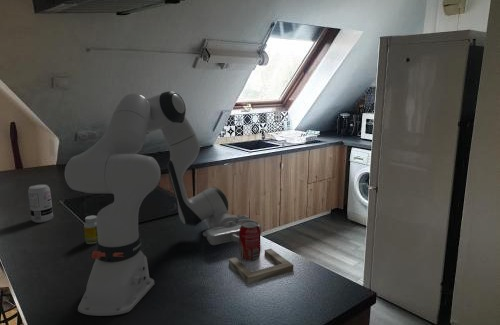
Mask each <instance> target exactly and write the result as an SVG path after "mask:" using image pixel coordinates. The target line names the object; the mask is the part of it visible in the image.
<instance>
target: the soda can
mask: <svg viewBox="0 0 500 325" xmlns="http://www.w3.org/2000/svg"><path fill="white" fill-rule="evenodd" d="M255 221H256V220H254V221H245V222H243V223H242V224H241V227H240V231H239V242H238V244H239V245H238V246H239V247H238V248H239V249H238V250H239V257H240V258H241V259H243V260H245V261H247V262H252V261H255V260H258V259H259V258H260V256H261V234H260V228H259V226H258V223H259V222H258V221H256V222H255ZM257 222H258V223H257Z"/></svg>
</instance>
